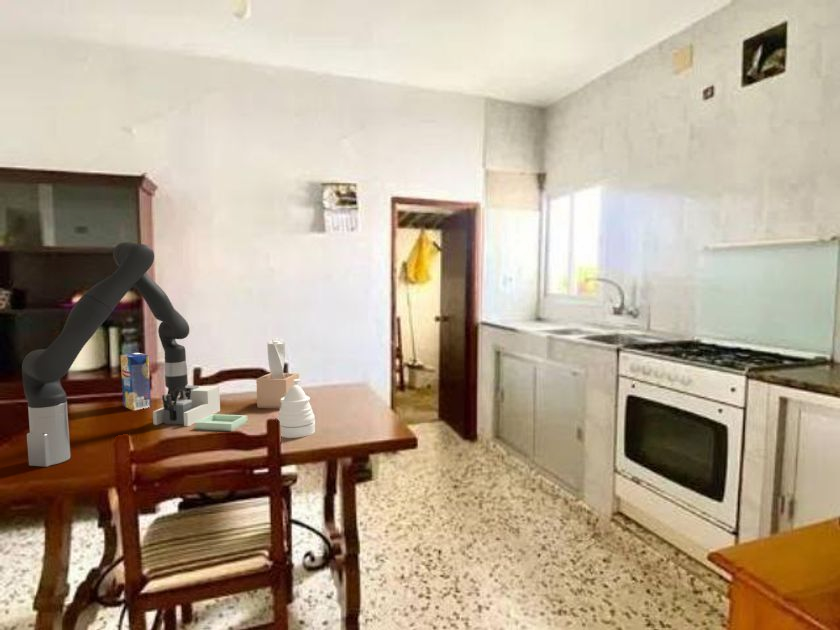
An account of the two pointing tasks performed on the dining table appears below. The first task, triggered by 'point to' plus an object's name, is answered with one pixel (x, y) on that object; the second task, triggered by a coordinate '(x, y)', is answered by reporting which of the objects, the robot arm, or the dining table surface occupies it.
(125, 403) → the beverage box
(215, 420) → the tray
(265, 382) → the open tan box
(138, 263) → the robot arm
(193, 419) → the white dispenser chute
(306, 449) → the dining table surface
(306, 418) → the honey pot
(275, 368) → the skyscraper
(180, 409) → the grey gripped cube
